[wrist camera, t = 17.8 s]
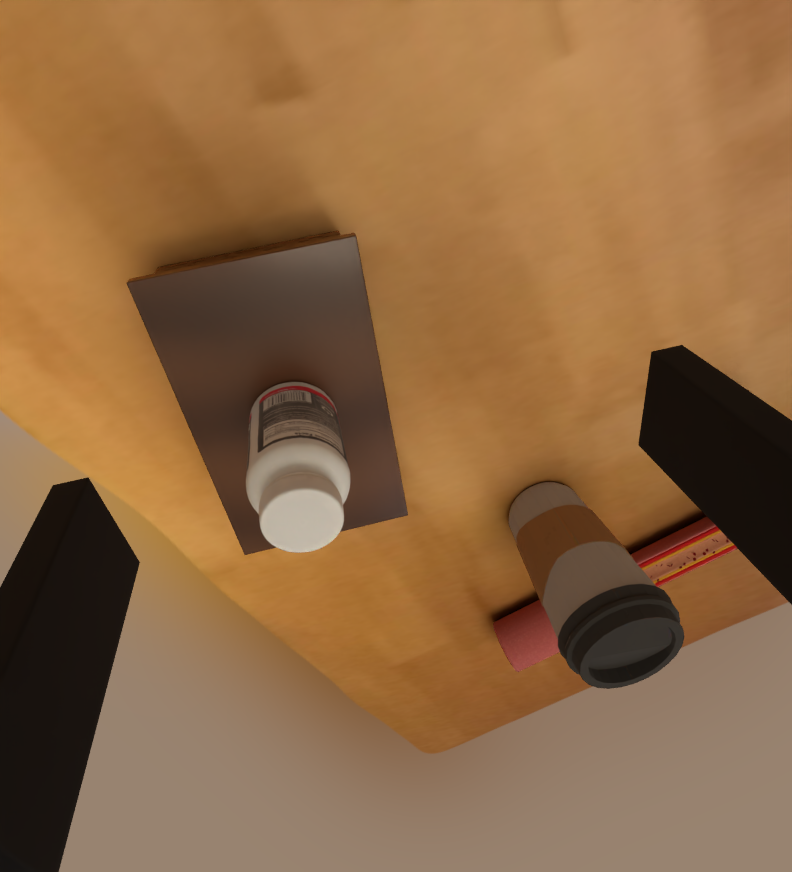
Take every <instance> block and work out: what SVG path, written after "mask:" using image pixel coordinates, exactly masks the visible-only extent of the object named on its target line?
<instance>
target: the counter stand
mask: <svg viewBox="0 0 792 872" xmlns="http://www.w3.org/2000/svg"><path fill="white" fill-rule="evenodd" d="M127 285H128V287H129V290H130V292H131V294H132V297H133V299H134V301H135V304H136V306H137V308H138V310H139V313H140V315H141V317H142V320H143V322H144V324H145V327H146V329H147V331H148V333H149V336H150V338H151V340H152V343H153V345H154V347H155V350H156V352H157V354H158V356H159V359H160V361H161V363H162V366H163V368H164V370H165V373H166V375H167V377H168V379H169V382H170V384H171V386H172V389H173V391H174V393H175V396H176V398H177V400H178V403H179V405H180V407H181V409H182V412H183V414H184V416H185V419H186V421H187V423H188V426H189V428H190V430H191V432H192V435H193V437H194V439H195V442H196V444H197V446H198V449H199V451H200V453H201V455H202V458H203V460H204V462H205V465H206V467H207V469H208V472H209V474H210V476H211V478H212V481H213V483H214V485H215V488H216V490H217V492H218V495H219V497H220V499H221V501H222V504H223V506H224V508H225V511H226V513H227V515H228V518H229V520H230V522H231V524H232V527H233V529H234V531H235V534H236V536H237V538H238V541H239V543H240V545H241V547H242V550H243V552H244V554H245V555H247V554H251V553H255V552H259V551H263V550H268V549H272V548H276V547H275V546H273V545H272V544H271V543H269V542H268V541H267V540H266V538H265V537H264V535H263V533H262V531H261V528H260V521H259V514H258V513H257V512H256V510H255V509H254V508H253V506H252V505H251V503H250V501H249V499H248V495H247V491H246V471H247V457H248V436H249V419H250V413H251V409H252V407H253V405H254V403H255V401H256V400H257V398H258V397H259V396H260V395H261V394H262V393H263V392H265V391H266V390H268V389H269V388H271V387H273V386H276V385H278V384H282V383H287V382H303V383H307V384H310V385H313V386H315V387H317V388H319V389H321V390H322V391H323V392H325V394H326V395H327V396H328V397H329V398H330V399H331V400H332V402H333V403H334V405H335V408H336V411H337V415H338V418H339V423H340V428H341V433H342V438H343V443H344V447H345V452H346V457H347V461H348V466H349V470H350V489H349V493H348V496H347V499H346V501H345V502H344V504H343V511H344V523H343V526H342V529H341V531H345V530H349V529H353V528H357V527H361V526H365V525H370V524H374V523H378V522H382V521H386V520H390V519H394V518H398V517H402V516H406V515H408V512H407V507H406V501H405V496H404V491H403V485H402V480H401V475H400V469H399V464H398V458H397V453H396V448H395V442H394V437H393V432H392V426H391V421H390V415H389V410H388V405H387V399H386V394H385V389H384V383H383V378H382V372H381V367H380V362H379V356H378V351H377V346H376V340H375V335H374V329H373V324H372V319H371V313H370V308H369V303H368V297H367V292H366V286H365V281H364V276H363V270H362V265H361V260H360V254H359V249H358V243H357V238H356V235H355V233H351V234H346V235H340V233H339V231H333V232H329V233H324V234H319V235H314V236H309V237H304V238H299V239H294V240H289V241H285V242H280V243H275V244H270V245H265V246H260V247H255V248H250V249H245V250H241V251H236V252H231V253H226V254H221V255H216V256H211V257H206V258H201V259H197V260H192V261H187V262H182V263H177V264H172V265H167V266H162V267H158V268H157V270H156V272H155V273H154V274H151V275H146V276H141V277H136V278H131V279H129V280H128V282H127ZM341 531H340V532H341Z"/></svg>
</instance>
